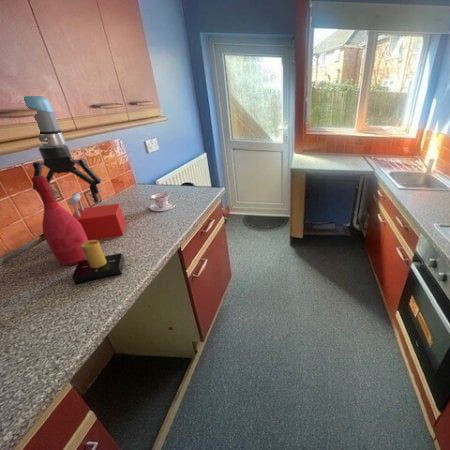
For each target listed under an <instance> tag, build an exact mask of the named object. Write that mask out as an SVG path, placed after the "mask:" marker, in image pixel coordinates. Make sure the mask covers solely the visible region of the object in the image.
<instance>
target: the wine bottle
mask: <svg viewBox="0 0 450 450" xmlns="http://www.w3.org/2000/svg"><path fill="white" fill-rule="evenodd" d="M46 177H47V176H44V175H41V176H35V177H34V176H32V178H31V183H32V185H33V184H34V186H35V189H36V190H35V191H36V192H37V193H38V194H39V195H40V197H41V200H42V205H43V216H42V234H43V237H44V240H45V241H46V243H47V245H48V247H49V249H50V250H51V252H52V254H53V256H54V257H55V259H56V260H57V262H58V263H59V265H62V266H71V265H78V262H79V261H83V260H87V259H86V256H85V254H84V252H83V250H82V248H81V244H82V243H84V242H86V241H88V239H87V236H86V234H85V232H84V229H83V227H82V226H81V224H80V223H79V222H78V220H77V219H76V218H75V217H73V214H71V212H69V211H67V210H66V209H65V208H64V207H63V206H62V205H61V204H60V203H59V202H58V200H57V199H56V197H55V195H54V193H53V194H52V192H53V191H52V192H51V190H52V187H51V185H50V183H48V181H47V178H46ZM53 195H54V196H53ZM54 197H55V198H54Z"/></svg>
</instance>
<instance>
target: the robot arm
mask: <svg viewBox="0 0 450 450" xmlns="http://www.w3.org/2000/svg"><path fill="white" fill-rule="evenodd" d="M24 96H25V97H24V101H25V103H26V106H27V107H28V108H29V109H34V110H37V114H36V115H35V116H34V118H35V120H36V121H37V123H38V127H39V129H40V134H47V135H39V136H38V138H39V140H40V141H41V142H48V144H43V145H40V146H38V151H39V153H40V155H41V158H42V160H43V161H38V160H36V161H34V162H32V166H33V167H32V168H33V169H34V170H33V171H34V172H33V177H35V176H42V171H43V168H44V167H46V168H47V169H49V170H48V172H47V175H46V176H45V177H46V178H47V181H48V183H49V184H51V181H52V179H53V178H54V175H55V174H62V173H63V174H64V173H65V174H68V173H71V174H73V175H75V176H77V177H78V178H80V179H81V180H83V181H84V182H86V183H87V184H89V186H88V187H89V190H90V192H91V195H92V198H93V200H94V203H98V202H99V201H100V199H99V196H98V194H99V191H100V190H99V187H98V185H100V184H101V182H102V179H101V178H100V177H99V176H98V175H97V174H96V173H95V171H93V170H92V169H91V168H90V167H89V165H87V163H86V160H85V159H84V158H80V159H73V157H72V154H71V152H70V149H69V147H68V146H67V145H66V144H67V141H66V139H65V137H64V134H63V132H62V130H61V127H60V124H59V121H58V119H57V117H56V114H55V110H54V109H53V107H52V105H51V102H50V100H49V99H48V98H47V97H45V96H42V95H24ZM55 133H58V134H55ZM76 164H77V166H78V167H79V166H80V168H81V169H82V170H83V171H84V172H85V173H86V174H87V175H86V174H85V173H84V172H82V171H81V170H80V169H78V168H77V167H76V166H75V165H76ZM32 190H34V191H36V189H35V186H34V184H33V183H32ZM51 192H52V194H53V196H54V198H55V199H56V197H55V194H54V193H53V190H52V189H51Z"/></svg>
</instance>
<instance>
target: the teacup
mask: <svg viewBox="0 0 450 450" xmlns="http://www.w3.org/2000/svg"><path fill="white" fill-rule="evenodd" d="M169 197H170V193H168V192H158V193H155V194H152V195H151V196H150V199H149V201H150V203H151V205H150V206H149V210H150V211H152V212H165V211H169V210H172V209H174V208H175V207H176V203H175V202H173V201H168V199H169ZM154 202H155V203H154Z"/></svg>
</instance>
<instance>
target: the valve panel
mask: <svg viewBox="0 0 450 450" xmlns="http://www.w3.org/2000/svg"><path fill="white" fill-rule="evenodd" d="M104 256H105V259H106V261H107V263H106V264H105V265H103V266H101V267H99V268H91V267H90V265H89V263H88V261H87V260H83V261H79V262H78V263H77V264H76V266H75V269H74V270H73V271H74V272H73V274H72V276H71V279H72V281H73V282H74V285H76V286H78V285H81V284H86V283H90V282H91V283H92V282H94V281H99V280H105V279H108V278H112V277H118V276H122V274H123V271H124V263H125V258H124V257H125V256H124V255H123V252H119V253H114V254H109V255H104Z"/></svg>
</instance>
